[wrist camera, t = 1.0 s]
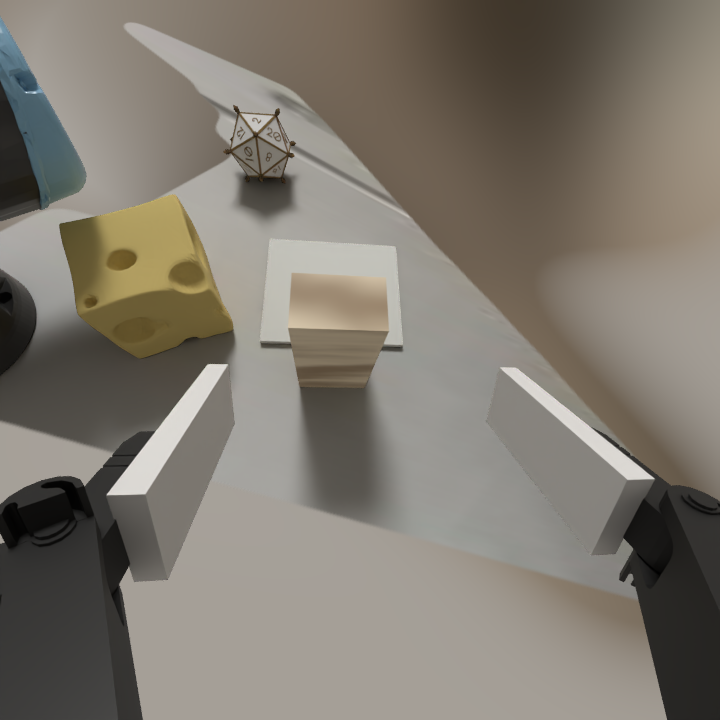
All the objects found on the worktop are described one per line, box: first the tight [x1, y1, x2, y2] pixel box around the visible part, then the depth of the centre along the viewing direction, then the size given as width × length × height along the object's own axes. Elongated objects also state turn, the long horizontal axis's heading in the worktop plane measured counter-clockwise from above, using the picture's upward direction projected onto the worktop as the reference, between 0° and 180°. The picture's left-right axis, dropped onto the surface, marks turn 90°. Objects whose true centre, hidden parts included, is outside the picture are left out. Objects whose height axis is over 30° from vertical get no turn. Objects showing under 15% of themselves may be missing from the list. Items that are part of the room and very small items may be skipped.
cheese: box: [59, 195, 233, 359], centre depth 33 cm, size 10×11×10 cm
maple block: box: [288, 273, 389, 388], centre depth 30 cm, size 4×7×14 cm, turn 91°
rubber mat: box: [260, 239, 403, 347], centre depth 40 cm, size 14×16×1 cm
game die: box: [224, 105, 296, 183], centre depth 42 cm, size 9×8×10 cm
